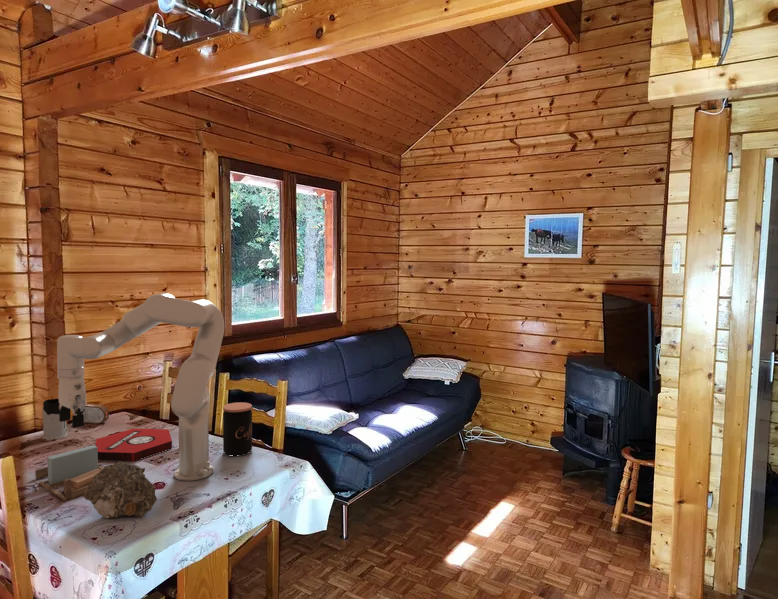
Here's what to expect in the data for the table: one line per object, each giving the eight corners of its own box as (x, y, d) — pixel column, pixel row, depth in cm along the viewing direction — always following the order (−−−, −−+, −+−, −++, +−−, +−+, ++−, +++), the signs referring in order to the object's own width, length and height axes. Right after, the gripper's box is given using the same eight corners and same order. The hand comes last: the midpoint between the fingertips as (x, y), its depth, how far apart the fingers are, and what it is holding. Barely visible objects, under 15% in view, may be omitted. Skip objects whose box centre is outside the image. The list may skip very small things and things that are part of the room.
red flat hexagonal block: (74, 460, 184) (155, 462, 184) (74, 451, 184) (155, 453, 183) (115, 436, 211) (186, 438, 210) (115, 428, 211) (186, 429, 210)
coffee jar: (236, 459, 187) (236, 411, 186) (217, 453, 193) (216, 407, 192) (258, 450, 196) (258, 405, 195) (238, 445, 202) (238, 400, 201)
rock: (100, 465, 137) (132, 437, 152) (72, 498, 141) (106, 467, 155) (153, 508, 139) (180, 476, 154) (124, 539, 142) (153, 505, 157)
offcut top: (107, 477, 166) (106, 470, 166) (78, 489, 157) (78, 482, 157) (97, 474, 168) (97, 468, 168) (68, 486, 159) (68, 479, 158)
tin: (109, 422, 227) (109, 404, 227) (104, 425, 224) (104, 406, 224) (79, 421, 229) (78, 402, 229) (74, 423, 226) (73, 404, 226)
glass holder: (43, 435, 210) (42, 399, 209) (83, 430, 217) (82, 395, 216) (40, 441, 202) (39, 404, 201) (82, 436, 209) (81, 400, 208)
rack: (124, 481, 167) (124, 463, 167) (64, 500, 152) (63, 481, 152) (90, 463, 181) (89, 446, 181) (32, 479, 167) (31, 462, 166)
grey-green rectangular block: (98, 472, 174) (97, 447, 173) (52, 486, 162) (51, 459, 162) (93, 470, 175) (93, 445, 175) (48, 484, 164) (47, 457, 163)
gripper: (95, 374, 164) (95, 426, 166) (71, 367, 175) (72, 416, 176) (70, 378, 158) (70, 432, 159) (47, 370, 168) (47, 421, 170)
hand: (71, 423), depth 168 cm, fingers open, 9 cm apart
